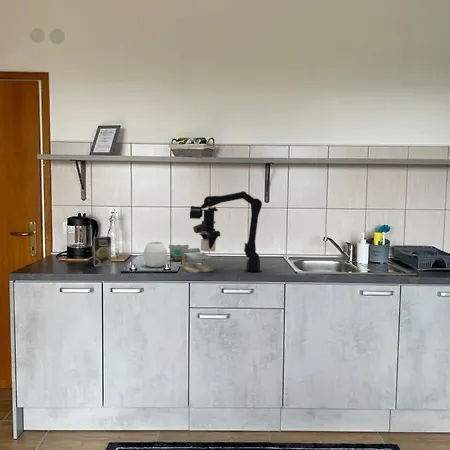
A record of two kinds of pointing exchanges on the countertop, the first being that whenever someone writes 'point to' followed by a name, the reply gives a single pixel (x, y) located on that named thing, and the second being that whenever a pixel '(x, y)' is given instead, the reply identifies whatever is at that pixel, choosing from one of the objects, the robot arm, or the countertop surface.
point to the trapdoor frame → (194, 266)
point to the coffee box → (102, 251)
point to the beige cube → (207, 245)
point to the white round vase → (155, 254)
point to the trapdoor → (194, 253)
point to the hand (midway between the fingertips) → (208, 247)
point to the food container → (176, 252)
